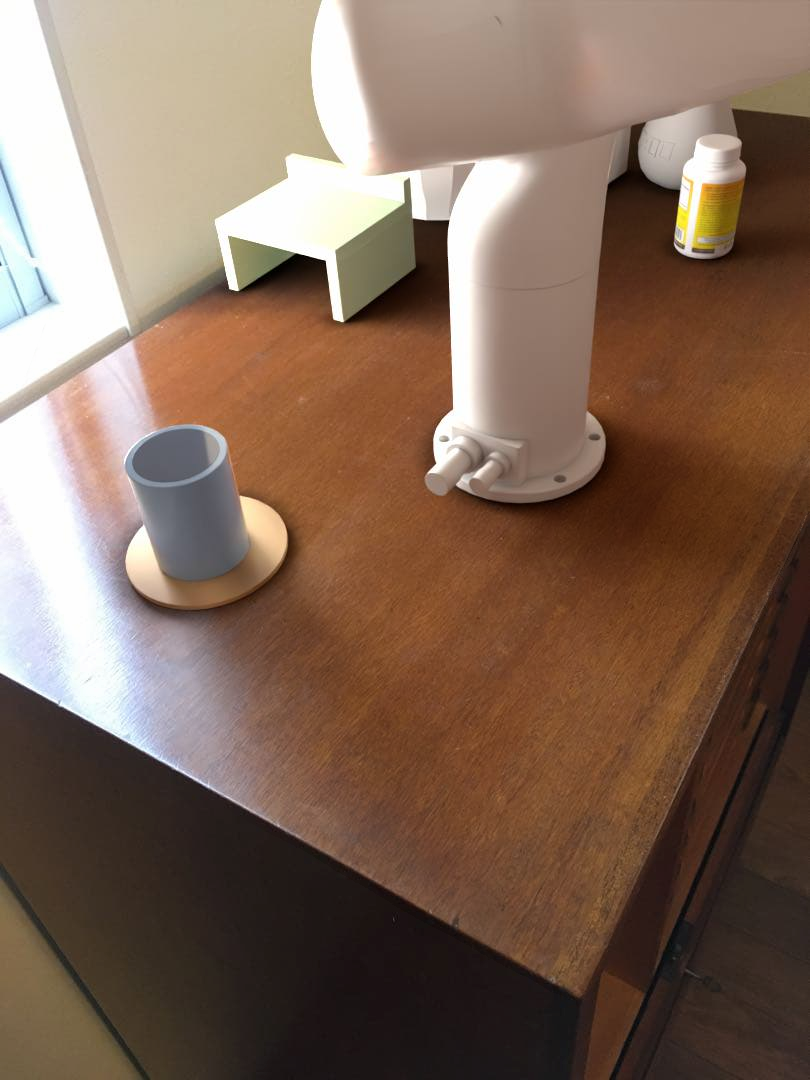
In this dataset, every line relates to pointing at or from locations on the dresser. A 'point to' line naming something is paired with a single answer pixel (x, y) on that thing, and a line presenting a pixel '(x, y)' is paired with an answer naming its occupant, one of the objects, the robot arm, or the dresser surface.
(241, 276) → the shelf
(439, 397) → the dresser surface
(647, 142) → the toy character
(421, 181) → the vase
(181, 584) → the coaster
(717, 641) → the dresser surface
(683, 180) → the supplement bottle
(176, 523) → the cup
